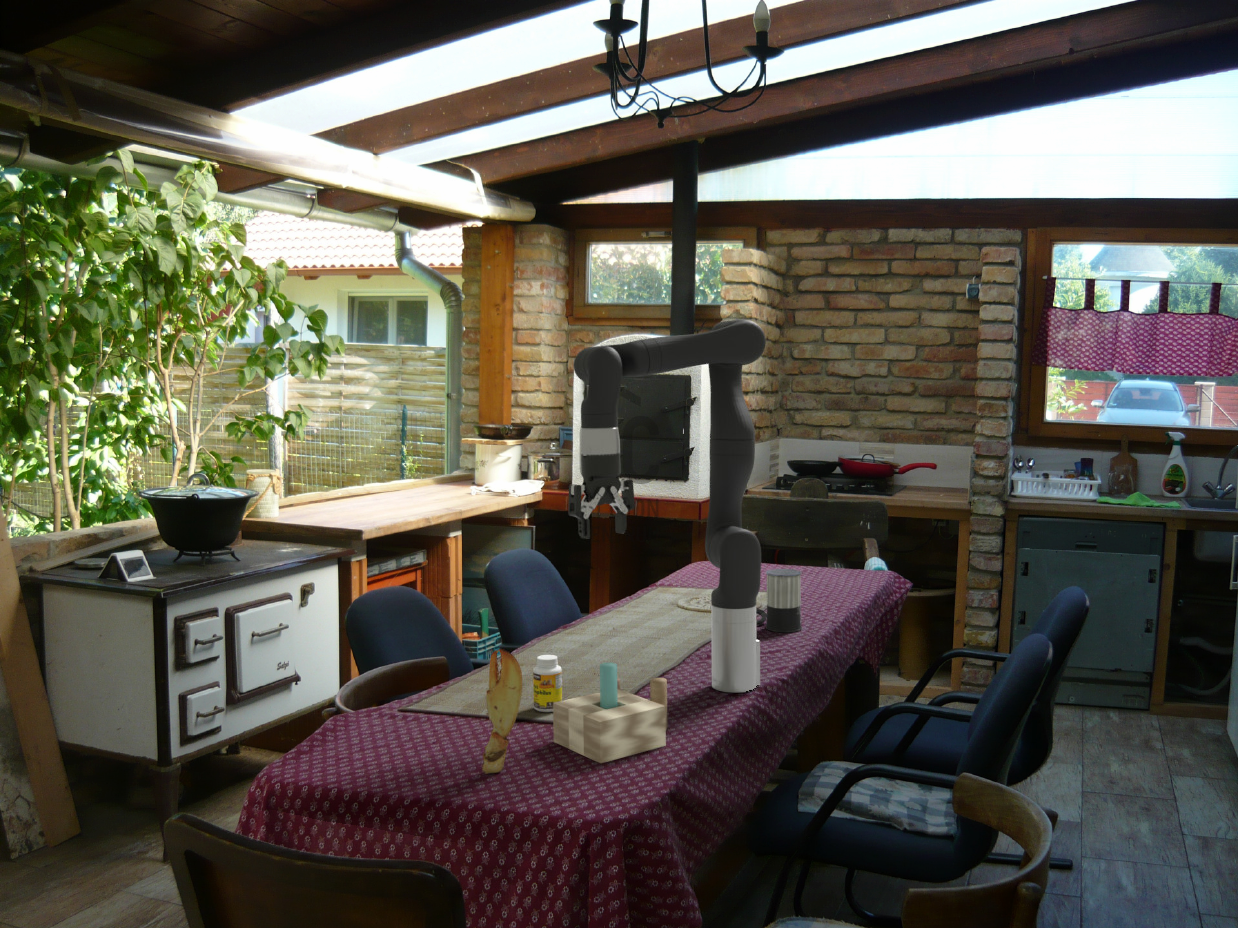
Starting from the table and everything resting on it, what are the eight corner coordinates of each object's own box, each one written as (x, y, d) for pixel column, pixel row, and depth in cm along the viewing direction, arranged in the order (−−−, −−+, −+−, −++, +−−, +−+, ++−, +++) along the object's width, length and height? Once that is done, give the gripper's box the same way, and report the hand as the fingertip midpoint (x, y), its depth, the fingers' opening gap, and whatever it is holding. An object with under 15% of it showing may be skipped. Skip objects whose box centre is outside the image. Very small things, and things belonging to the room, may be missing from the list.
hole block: (617, 725, 197) (616, 688, 197) (665, 745, 186) (665, 705, 186) (553, 741, 189) (553, 702, 188) (600, 763, 178) (600, 721, 177)
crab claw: (527, 771, 175) (525, 650, 173) (507, 781, 170) (504, 656, 169) (494, 763, 178) (491, 644, 177) (473, 772, 174) (471, 651, 173)
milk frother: (804, 633, 269) (804, 574, 268) (741, 633, 270) (741, 575, 269) (796, 620, 284) (796, 565, 283) (736, 621, 284) (736, 565, 283)
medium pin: (660, 724, 198) (659, 676, 197) (670, 728, 195) (670, 680, 195) (647, 728, 196) (646, 679, 195) (657, 732, 194) (657, 683, 193)
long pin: (611, 739, 190) (610, 661, 189) (621, 743, 187) (620, 664, 186) (597, 743, 188) (596, 664, 187) (607, 747, 186) (606, 667, 185)
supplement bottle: (528, 710, 207) (527, 658, 207) (544, 703, 212) (543, 652, 212) (552, 714, 205) (551, 661, 204) (567, 706, 210) (567, 655, 209)
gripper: (617, 448, 212) (619, 529, 214) (558, 453, 203) (561, 538, 205) (641, 449, 206) (644, 533, 208) (582, 454, 198) (584, 541, 199)
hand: (602, 535), depth 206 cm, fingers open, 8 cm apart
